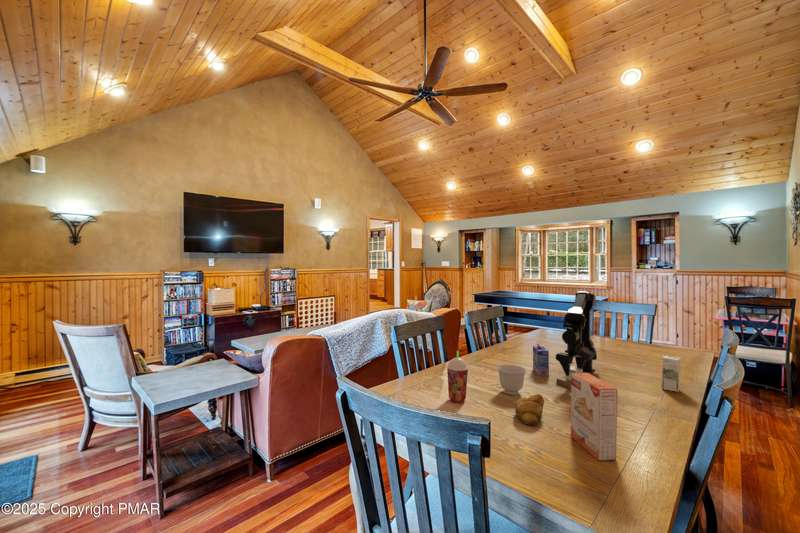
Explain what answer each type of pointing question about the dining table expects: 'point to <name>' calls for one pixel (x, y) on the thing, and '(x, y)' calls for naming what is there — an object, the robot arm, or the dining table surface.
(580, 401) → the cracker box
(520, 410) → the bread roll
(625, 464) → the dining table surface
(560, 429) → the dining table surface
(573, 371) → the sage cube
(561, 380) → the walnut board
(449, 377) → the smoothie
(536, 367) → the ink cartridge box
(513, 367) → the teacup
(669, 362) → the syrup box
